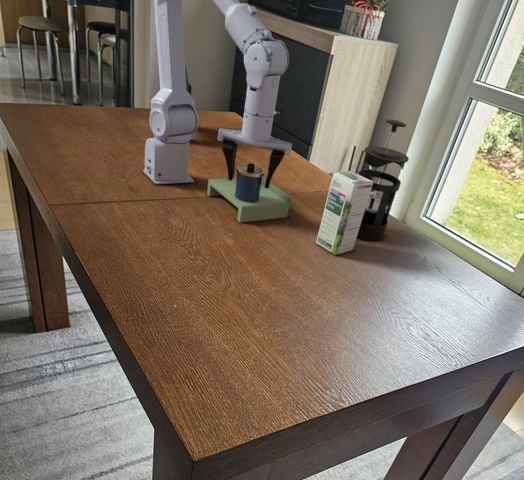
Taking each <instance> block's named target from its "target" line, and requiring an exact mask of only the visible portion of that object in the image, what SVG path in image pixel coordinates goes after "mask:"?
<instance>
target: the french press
mask: <svg viewBox="0 0 524 480" xmlns="http://www.w3.org/2000/svg"><path fill="white" fill-rule="evenodd" d="M384 122H385V123H386V124H387V125H390V126H391V130H390V132H391V135H390V139H389V141H388V145H387V147H383V146H374V145H371V146H366V147H365V148H364V153H365V155H364V160H363V162H364V163H365V164H367V165H368V166H370V167H373V168H376V169H377V168H378V169H379V168H380V171H379V170H375V169H371V168H369V167H362V168H361V170H359V171H358V172H357V174H358V175H360V176H362V177H364V178H366V179H369V180H372V179H373V178H378V179H377V181H376V182H373V185H372V188H371V191H372V190H373V191H374V192H373V195H372V196H369V198H368V201H367V205H366V208H365V211H364V215H363V218H362V221H361V225H360V228H359V231H358V235H357V238H356V239H358V240H363V241H367V242H379V241H382V240H384V239H385V236H386V230H387V226H388V223H389V220H388V218H389V216H390V212H391V210H392V206H393V202H394V199H395V196H396V193H397V192H398V191H399V190H400V188H401V184H402V181H401V180H400V179H399V178H398V177H396V176H395V175H392V174H389V173H387V172H383V170H384V166H386V165H389V164H397V165H398V166H400V169H401V170H404V168H405V165H406V163H408V162H409V160H410V158H409V156H407V155H406V154H404V153H403V152H400V151H398V150H395V149H392V148H391V144H392V140H393V137H394V134H395V133H396V132H397V129H398V127H399V128H406V127H407V124H406V123H405V122H403V121H400V120H397V119H391V118H390V119H385V121H384ZM380 180H385V181H387V182H390V183H391V184H392V185H385V184H380ZM377 192H381V193H382V195H381V198H377V197H376V194H377Z"/></svg>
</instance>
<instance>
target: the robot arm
mask: <svg viewBox="0 0 524 480" xmlns="http://www.w3.org/2000/svg"><path fill="white" fill-rule="evenodd" d="M183 1H184V0H153V6H154V8H153V9H154V19H155V21H154V22H155V35H156V47H157V48H156V50H157V59H158V75H159V76H158V77H159V88H160V89H159V90H158V92H157V93H156V94H155V95H154V96H153V97H152V98H151V100H150V113H149V120H148V121H149V127H150V129H151V132H152V134H153V135H154V137H149V138H146V141H145V144H144V169H143V170H142V172H143V174H145V175H146V176H147V177H148V178H149V179H150V180H151V181H152V182H153V183H154V184H156V185H170V184H187V183H190V184H191V183H194V182H195V180H194V178H192V177H191V176H190V175H188V172H189V171H188V169H189V155H190V154H189V153H190V142H191V140H192V139H193V134H195V133H197V131H198V128H199V123H200V122H199V115H198V112H197V110H196V103H195V102H196V100H195V98H194V97H193V96H192V94H191V95H190V94H189V93H188V92H187V90H186V76H185V64H186V58H185V56H186V55H185V39H184V38H185V37H184V18H183V16H184V15H183ZM211 1H212V2H213V3H214V5H215V6H216V7H217V9H219V11H220V12H221V13H222V15H223V16H224V18H225V19H224V20H225V21H224V29H225V30H226V32H227V33H228V34H229V36H230V38H231V39H232V40H233V42H234V44H236V46H237V47H238V49H239V50H240V52H241V53H242V55H243V64H244V68H245V71H246V80H245V81H246V85H247V86H246V94H245V102H244V111H243V118H242V126H241V130H236V129H227V128H222V127H221V128H219V130H218V134H217V141H219V142H222V144H221V150H222V154H223V156H224V159H225V162H226V167H227V178H228V180H230V181H232V179H233V178H235V171H236V169H235V168H236V158H237V152H238V146H239V145H242V146H247V147H251V148H256V149H261V150H266V151H270V152H271V153H270V155H269V161H268V168H267V169H268V170H267V174H266V178H265V179H266V183H265V188H267V189H268V188H269V185H270V182H272V181H271V180H272V178H273V176H274V174H275V172H276V170H277V169H278V167H279V165H280V164H281V163H282V161H283V159H284V157H285V156H289V157H290V155H291V151H292V146H293V143H292V142H289V141H285V140H282V139H279V138H275V137H272V131H273V130H272V129H273V123H274V117H275V110H276V105H277V99H278V92H279V88H280V87H279V86H280V79H281V76H282V75H285V72H287V70H288V68H289V65H290V64H289V63H290V54H289V50H288V48H287V45H286V43H285V42H284V41H283V40H281V39H275V38H274V37H273V33H272V32H271V31H270V30H269V29H267V28H266V26H265V25H264V23H263V22H262V21H261V19H260V18H259V16H258V13H259V11H258V10H257V8H256V7H255V6H254V5H251V4H249V3H246V2H245V3H243V2H242V3H241V2H240V1H239V0H211ZM172 105H178V106H172Z"/></svg>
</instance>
